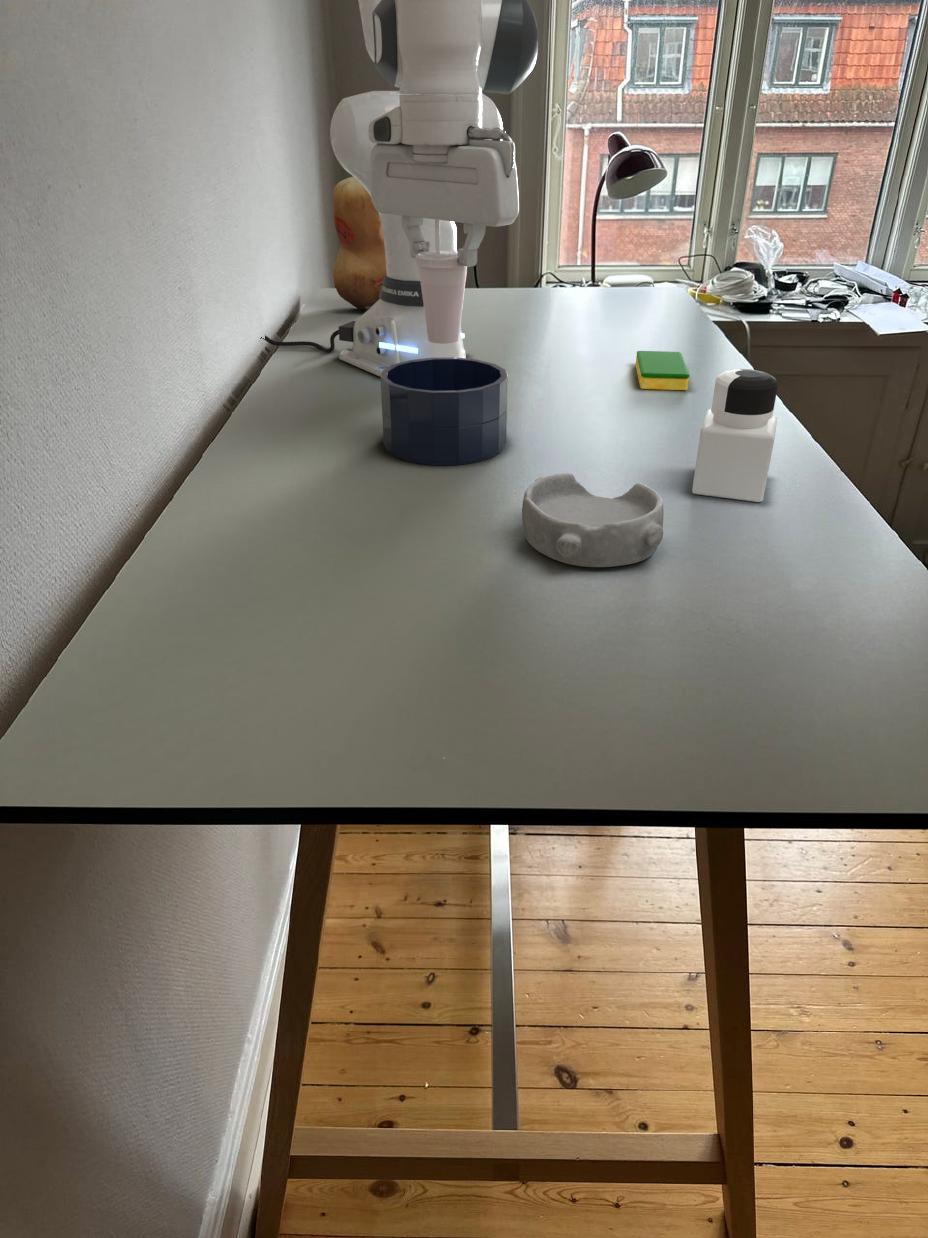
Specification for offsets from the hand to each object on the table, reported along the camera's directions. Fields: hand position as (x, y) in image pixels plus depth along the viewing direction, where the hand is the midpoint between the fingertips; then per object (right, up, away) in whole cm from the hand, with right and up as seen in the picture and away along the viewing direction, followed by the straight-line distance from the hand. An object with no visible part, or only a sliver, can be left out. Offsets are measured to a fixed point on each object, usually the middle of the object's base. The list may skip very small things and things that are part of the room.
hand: (442, 261), depth 103 cm
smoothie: (0, -8, +5) cm, 9 cm away
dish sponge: (+34, -4, +37) cm, 50 cm away
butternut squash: (-17, +22, +80) cm, 85 cm away
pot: (0, -19, +11) cm, 22 cm away
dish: (+15, -34, -14) cm, 40 cm away
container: (+33, -27, -1) cm, 42 cm away
